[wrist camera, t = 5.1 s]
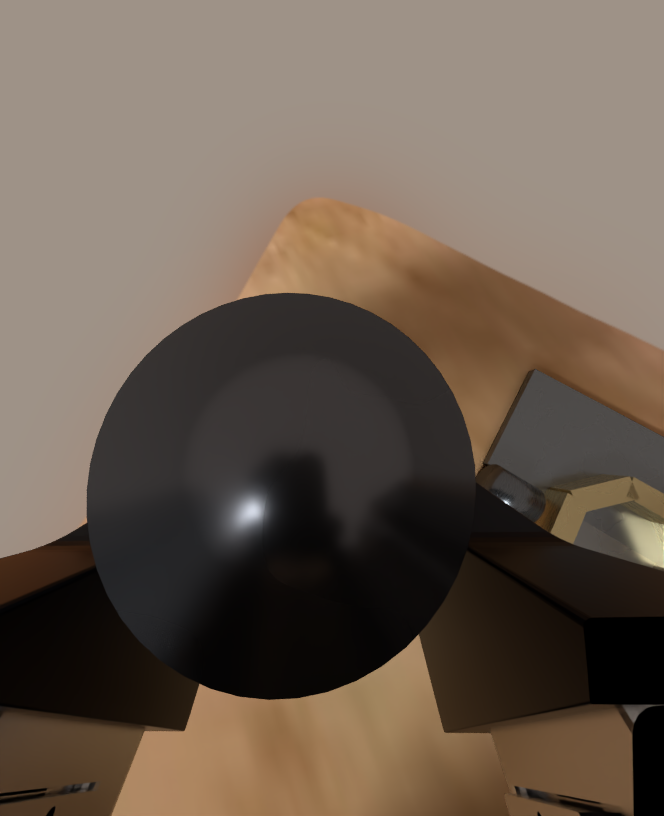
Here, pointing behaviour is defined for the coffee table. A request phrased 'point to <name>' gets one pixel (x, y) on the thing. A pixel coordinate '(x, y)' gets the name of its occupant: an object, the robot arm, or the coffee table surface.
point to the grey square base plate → (580, 471)
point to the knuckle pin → (281, 496)
